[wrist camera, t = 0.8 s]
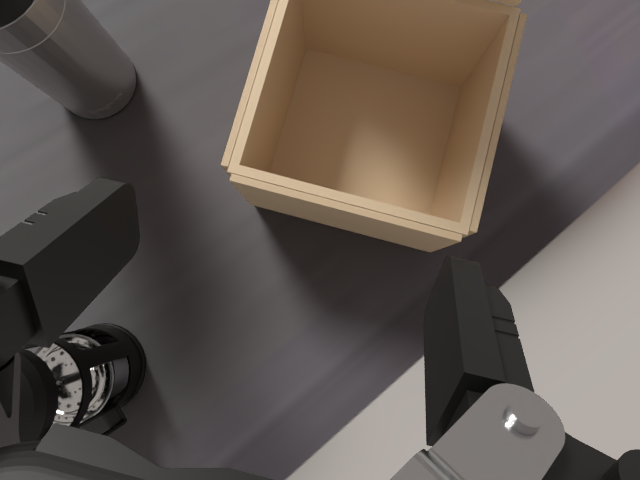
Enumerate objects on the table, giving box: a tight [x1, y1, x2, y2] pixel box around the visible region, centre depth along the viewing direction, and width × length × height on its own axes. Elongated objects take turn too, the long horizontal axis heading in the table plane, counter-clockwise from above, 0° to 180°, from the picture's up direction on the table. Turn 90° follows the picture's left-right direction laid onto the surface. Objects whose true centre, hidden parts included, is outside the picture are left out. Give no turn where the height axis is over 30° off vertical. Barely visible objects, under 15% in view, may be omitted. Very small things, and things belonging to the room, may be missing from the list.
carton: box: [221, 0, 527, 253], centre depth 43 cm, size 21×21×14 cm
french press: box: [18, 323, 146, 443], centre depth 36 cm, size 12×9×23 cm
